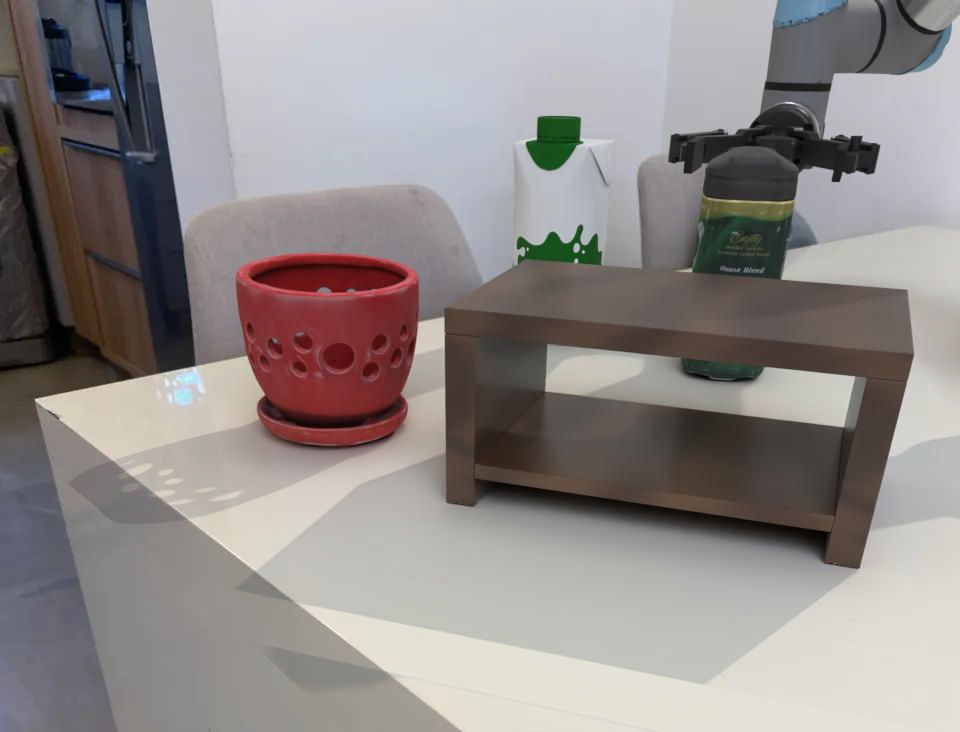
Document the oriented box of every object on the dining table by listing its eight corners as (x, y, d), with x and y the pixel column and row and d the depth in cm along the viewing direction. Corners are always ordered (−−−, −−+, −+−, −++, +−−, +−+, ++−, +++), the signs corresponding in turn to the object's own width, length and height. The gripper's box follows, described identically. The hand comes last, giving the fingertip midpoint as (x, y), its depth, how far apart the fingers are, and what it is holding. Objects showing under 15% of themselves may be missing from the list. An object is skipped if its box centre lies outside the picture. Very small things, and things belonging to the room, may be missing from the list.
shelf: (863, 470, 68) (907, 289, 61) (859, 568, 55) (914, 353, 48) (519, 425, 75) (525, 258, 68) (445, 502, 62) (443, 307, 56)
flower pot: (228, 454, 69) (204, 283, 63) (284, 398, 80) (268, 247, 74) (403, 465, 68) (397, 291, 61) (435, 406, 79) (433, 254, 72)
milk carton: (500, 338, 97) (504, 116, 86) (533, 319, 104) (541, 111, 93) (581, 349, 94) (596, 120, 83) (609, 328, 101) (626, 114, 90)
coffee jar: (768, 386, 84) (809, 154, 74) (678, 380, 86) (706, 150, 76) (762, 356, 92) (799, 143, 82) (680, 351, 94) (707, 140, 84)
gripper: (892, 185, 103) (894, 214, 86) (666, 172, 110) (626, 197, 93) (910, 107, 99) (916, 121, 82) (674, 98, 106) (634, 110, 89)
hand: (762, 161), depth 88 cm, fingers open, 13 cm apart
